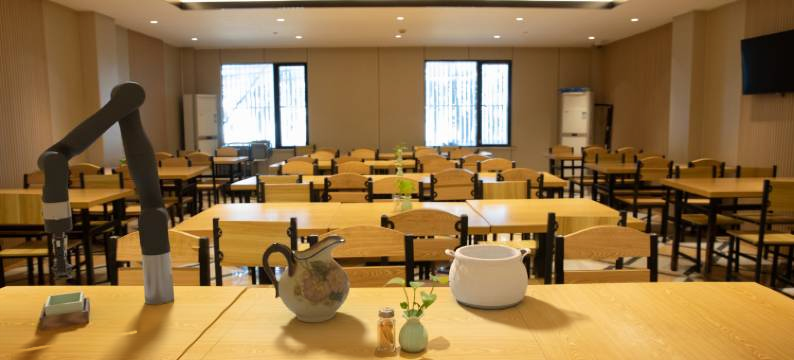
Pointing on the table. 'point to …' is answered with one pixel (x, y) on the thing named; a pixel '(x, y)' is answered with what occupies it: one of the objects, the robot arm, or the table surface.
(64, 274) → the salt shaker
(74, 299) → the green crate
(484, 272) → the pot
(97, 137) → the robot arm
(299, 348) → the table surface
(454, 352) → the table surface
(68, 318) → the box
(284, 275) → the pitcher
